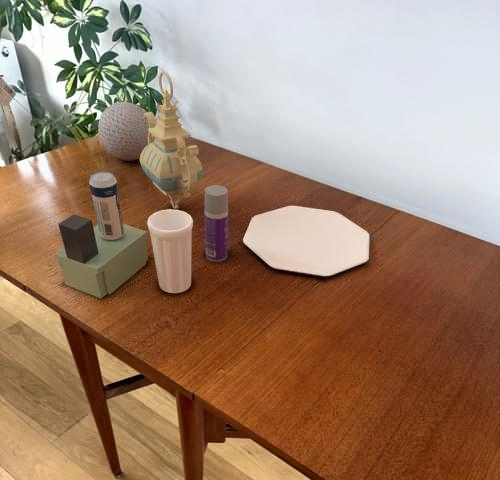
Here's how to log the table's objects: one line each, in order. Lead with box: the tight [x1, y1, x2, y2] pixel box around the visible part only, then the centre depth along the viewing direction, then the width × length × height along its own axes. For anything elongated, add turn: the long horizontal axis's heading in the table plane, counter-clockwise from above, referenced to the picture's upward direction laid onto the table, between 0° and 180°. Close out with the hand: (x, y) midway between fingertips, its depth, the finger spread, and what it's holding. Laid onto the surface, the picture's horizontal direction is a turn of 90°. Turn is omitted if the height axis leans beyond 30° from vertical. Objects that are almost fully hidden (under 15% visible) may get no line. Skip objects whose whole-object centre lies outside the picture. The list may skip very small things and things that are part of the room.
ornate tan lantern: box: [139, 71, 204, 210], centre depth 103 cm, size 24×12×30 cm, turn 33°
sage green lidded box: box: [53, 223, 149, 299], centre depth 91 cm, size 10×15×7 cm, turn 154°
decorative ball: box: [97, 101, 149, 162], centre depth 129 cm, size 15×15×15 cm
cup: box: [146, 208, 194, 294], centre depth 86 cm, size 8×8×14 cm
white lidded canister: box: [88, 171, 125, 240], centre depth 86 cm, size 5×5×12 cm
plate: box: [242, 205, 371, 278], centre depth 104 cm, size 28×28×2 cm
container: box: [204, 184, 229, 263], centre depth 94 cm, size 5×5×15 cm
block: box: [58, 213, 99, 264], centre depth 83 cm, size 4×4×7 cm
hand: (11, 99), depth 77 cm, fingers open, 8 cm apart
